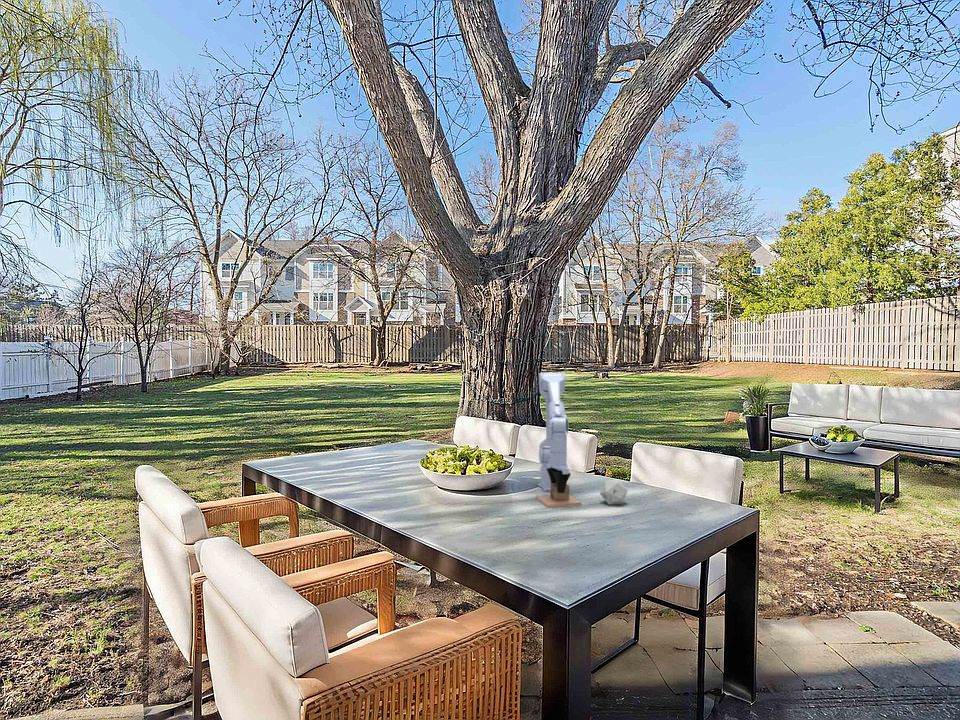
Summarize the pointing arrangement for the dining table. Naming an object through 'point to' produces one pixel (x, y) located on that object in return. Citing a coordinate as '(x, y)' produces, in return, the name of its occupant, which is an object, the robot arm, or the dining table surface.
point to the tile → (551, 503)
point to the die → (613, 492)
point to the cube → (556, 495)
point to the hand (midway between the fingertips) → (558, 490)
